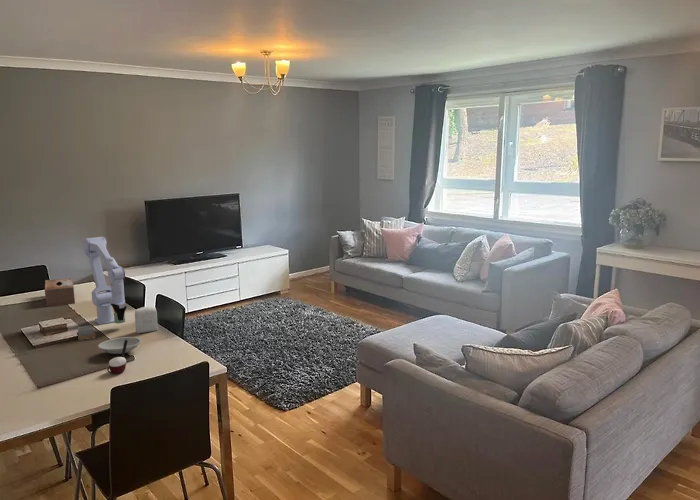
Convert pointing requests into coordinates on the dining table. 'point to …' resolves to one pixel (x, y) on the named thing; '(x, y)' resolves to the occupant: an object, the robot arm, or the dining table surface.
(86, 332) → the slate top block
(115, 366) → the cocoa
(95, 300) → the robot arm
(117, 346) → the dish
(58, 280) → the tissue box cover
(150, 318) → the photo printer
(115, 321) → the pale green block
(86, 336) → the walnut base block
